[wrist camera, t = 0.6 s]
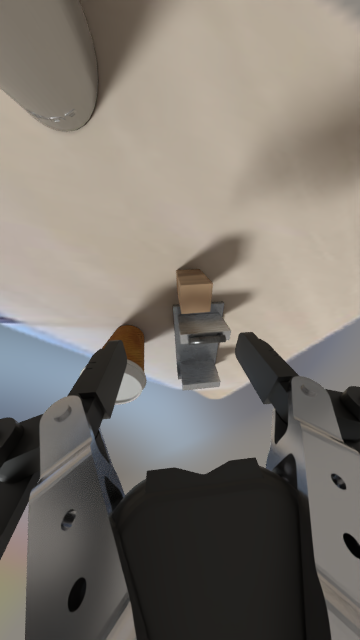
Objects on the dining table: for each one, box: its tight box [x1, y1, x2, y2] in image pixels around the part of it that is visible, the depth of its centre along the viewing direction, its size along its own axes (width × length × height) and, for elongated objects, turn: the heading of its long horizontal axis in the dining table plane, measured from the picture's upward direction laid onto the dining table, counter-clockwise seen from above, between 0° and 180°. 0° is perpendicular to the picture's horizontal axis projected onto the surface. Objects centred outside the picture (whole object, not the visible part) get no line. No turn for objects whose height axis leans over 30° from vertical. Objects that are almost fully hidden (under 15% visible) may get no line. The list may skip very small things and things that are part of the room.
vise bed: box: [173, 302, 224, 390], centre depth 30 cm, size 19×10×7 cm, turn 2°
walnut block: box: [176, 269, 213, 314], centre depth 21 cm, size 4×4×8 cm
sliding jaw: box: [178, 313, 231, 345], centre depth 25 cm, size 2×8×7 cm, turn 92°
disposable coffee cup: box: [80, 325, 146, 405], centre depth 25 cm, size 10×10×12 cm
